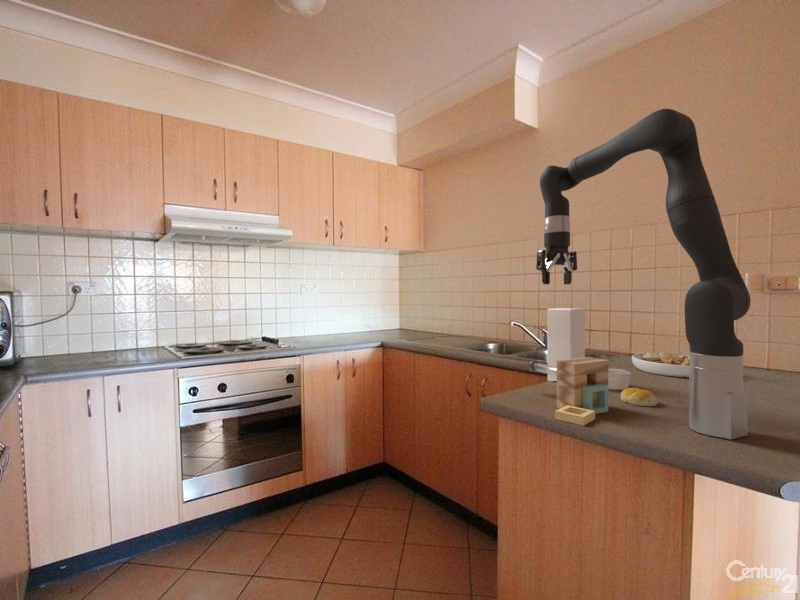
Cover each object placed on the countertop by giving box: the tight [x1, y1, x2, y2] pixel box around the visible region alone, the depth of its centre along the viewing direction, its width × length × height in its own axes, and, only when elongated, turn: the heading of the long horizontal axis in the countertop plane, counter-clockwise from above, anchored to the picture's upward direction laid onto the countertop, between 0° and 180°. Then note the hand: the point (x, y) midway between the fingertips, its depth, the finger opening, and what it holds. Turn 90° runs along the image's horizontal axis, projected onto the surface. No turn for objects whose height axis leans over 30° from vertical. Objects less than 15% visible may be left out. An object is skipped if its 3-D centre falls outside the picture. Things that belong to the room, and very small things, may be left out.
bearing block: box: [556, 356, 609, 409], centre depth 106 cm, size 6×12×13 cm, turn 113°
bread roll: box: [620, 387, 659, 407], centre depth 111 cm, size 8×9×4 cm
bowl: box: [631, 351, 690, 379], centre depth 152 cm, size 30×30×8 cm
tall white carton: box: [547, 307, 586, 382], centre depth 137 cm, size 9×9×25 cm
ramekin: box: [608, 367, 632, 391], centre depth 129 cm, size 11×11×5 cm
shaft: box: [527, 360, 557, 376], centre depth 115 cm, size 19×3×3 cm, turn 23°
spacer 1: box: [554, 405, 596, 427], centre depth 97 cm, size 7×7×2 cm
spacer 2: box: [583, 384, 609, 415], centre depth 102 cm, size 2×7×7 cm, turn 113°
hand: (557, 284), depth 124 cm, fingers open, 8 cm apart
